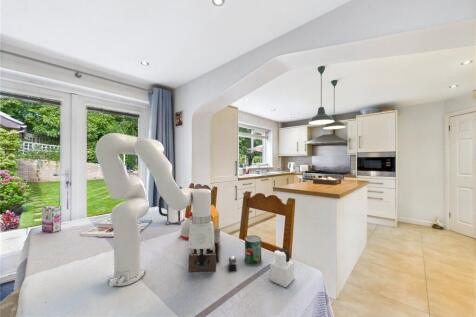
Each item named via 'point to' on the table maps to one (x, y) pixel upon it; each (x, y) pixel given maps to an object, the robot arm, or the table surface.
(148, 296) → the table surface
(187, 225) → the kitchen timer
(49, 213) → the candy bar box
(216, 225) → the orange juice
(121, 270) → the robot arm
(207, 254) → the drawer
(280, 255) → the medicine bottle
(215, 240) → the cabinet
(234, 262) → the black and silver block
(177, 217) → the coffee press
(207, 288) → the table surface
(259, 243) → the canned tomato
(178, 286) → the table surface
